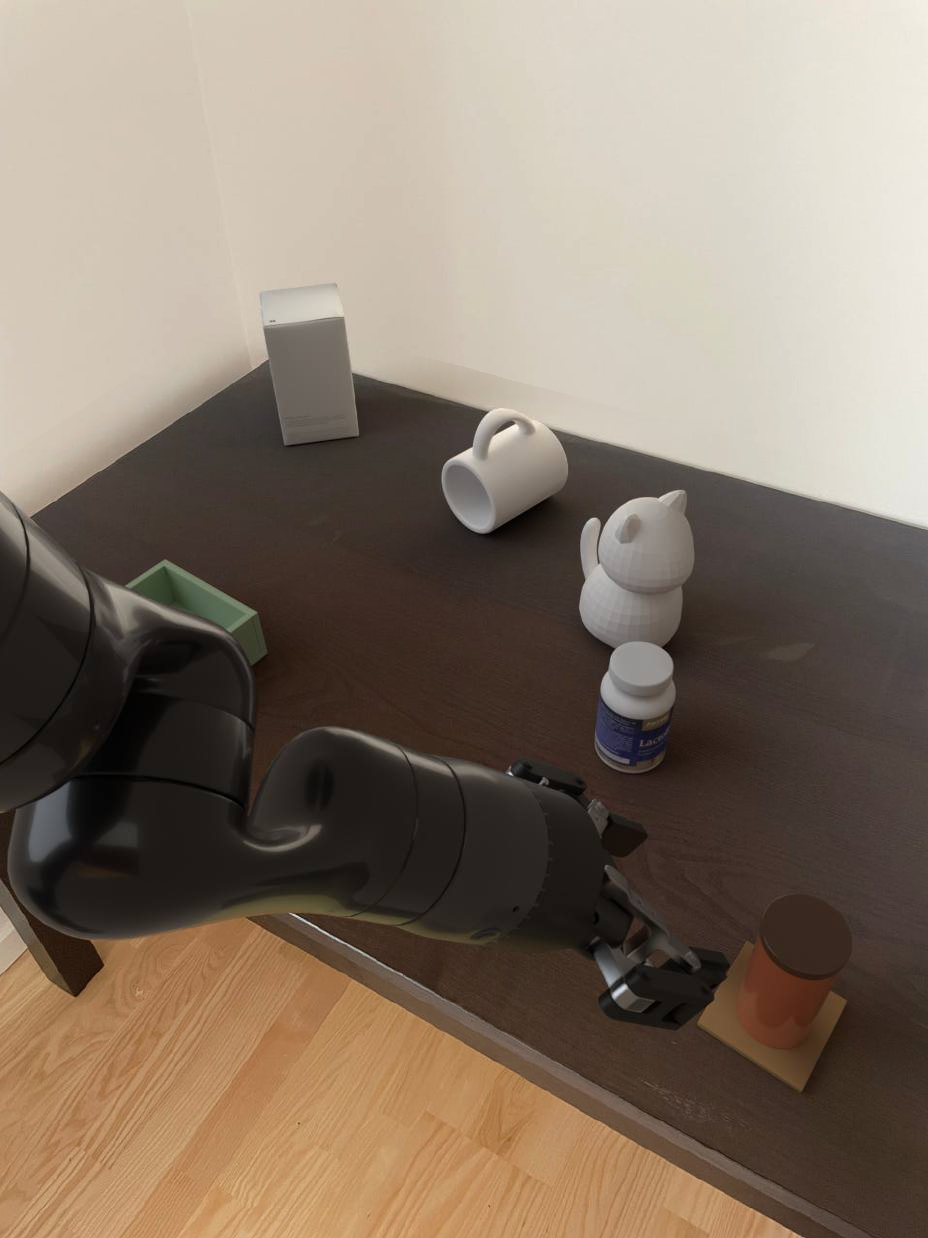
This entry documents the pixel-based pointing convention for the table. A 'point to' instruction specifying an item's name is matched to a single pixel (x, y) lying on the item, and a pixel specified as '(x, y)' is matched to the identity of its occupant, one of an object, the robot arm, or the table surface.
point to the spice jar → (792, 969)
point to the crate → (203, 604)
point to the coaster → (779, 1062)
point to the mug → (504, 471)
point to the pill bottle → (635, 708)
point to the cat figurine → (637, 571)
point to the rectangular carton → (310, 363)
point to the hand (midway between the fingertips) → (672, 903)
